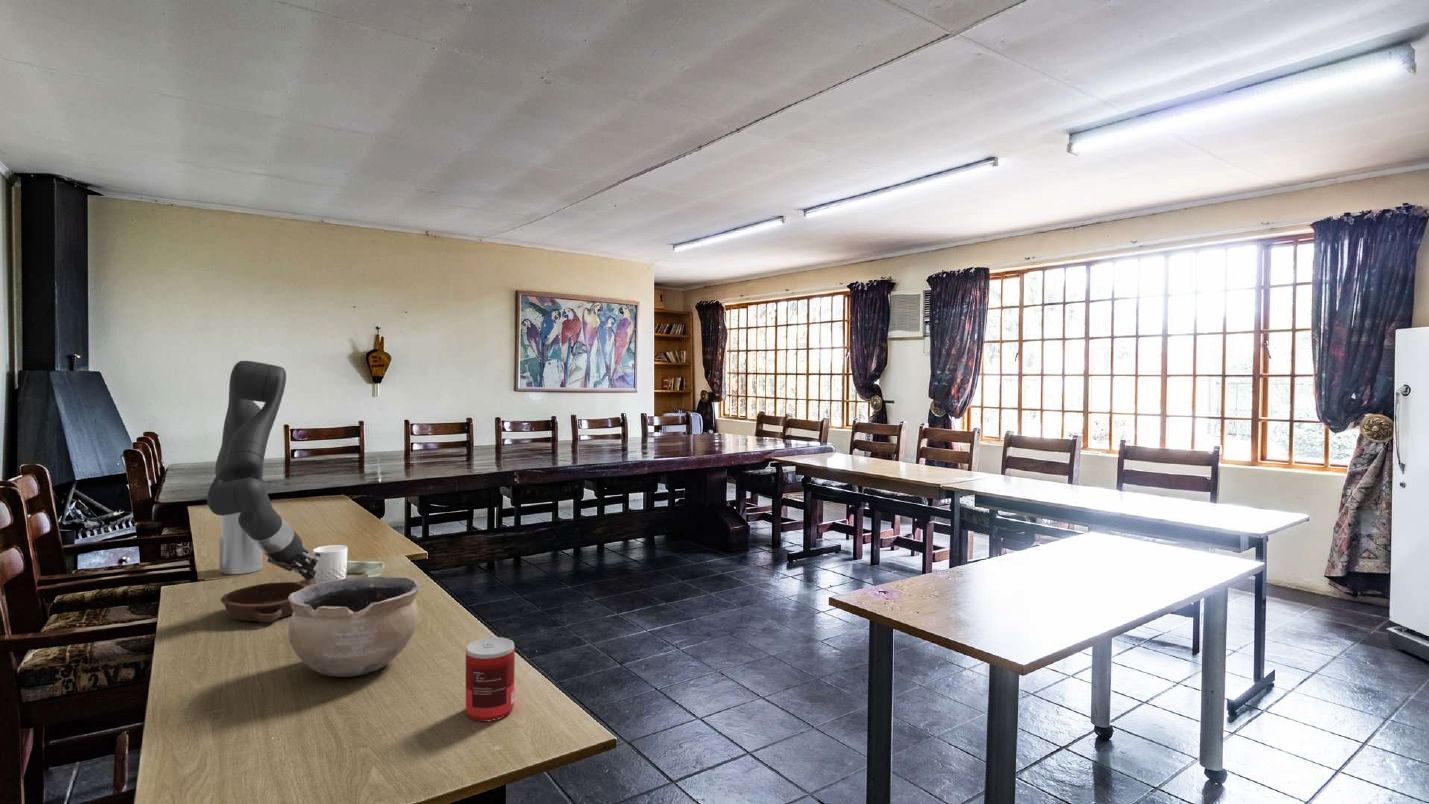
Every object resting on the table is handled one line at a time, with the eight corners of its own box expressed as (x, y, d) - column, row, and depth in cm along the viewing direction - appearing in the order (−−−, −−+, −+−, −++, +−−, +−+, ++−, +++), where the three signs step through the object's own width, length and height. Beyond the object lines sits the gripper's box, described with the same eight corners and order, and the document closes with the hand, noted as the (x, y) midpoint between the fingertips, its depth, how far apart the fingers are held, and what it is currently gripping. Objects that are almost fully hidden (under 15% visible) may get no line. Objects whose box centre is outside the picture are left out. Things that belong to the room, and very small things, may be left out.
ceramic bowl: (269, 698, 120) (268, 611, 120) (306, 650, 141) (306, 576, 141) (410, 685, 126) (410, 602, 126) (425, 641, 147) (425, 569, 146)
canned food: (496, 696, 122) (496, 633, 122) (524, 710, 117) (524, 644, 117) (455, 711, 116) (455, 645, 116) (483, 727, 111) (483, 658, 111)
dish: (218, 635, 149) (217, 612, 149) (223, 606, 168) (223, 585, 167) (313, 621, 158) (313, 599, 158) (308, 595, 177) (308, 575, 177)
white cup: (305, 589, 181) (305, 550, 181) (330, 581, 188) (330, 543, 188) (330, 592, 179) (330, 553, 178) (354, 584, 186) (354, 546, 186)
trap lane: (281, 596, 175) (281, 584, 174) (340, 571, 198) (339, 560, 198) (331, 599, 173) (331, 586, 173) (384, 572, 197) (384, 562, 197)
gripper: (310, 525, 165) (343, 563, 178) (257, 523, 166) (293, 561, 179) (295, 553, 160) (329, 591, 173) (240, 551, 161) (278, 589, 174)
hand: (311, 576), depth 176 cm, fingers closed
